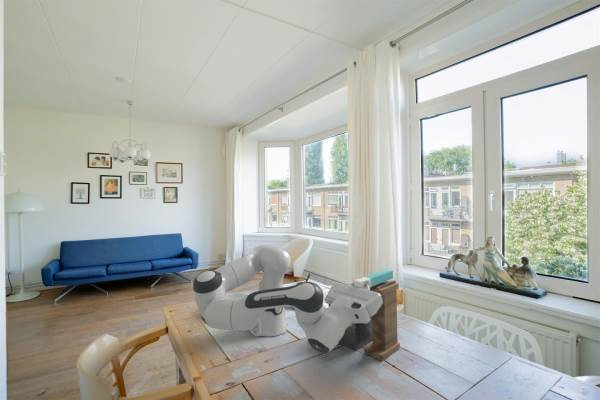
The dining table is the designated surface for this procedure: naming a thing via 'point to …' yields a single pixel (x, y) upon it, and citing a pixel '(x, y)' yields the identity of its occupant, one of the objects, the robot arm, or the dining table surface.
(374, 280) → the teal bar
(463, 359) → the dining table surface
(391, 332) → the post
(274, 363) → the dining table surface
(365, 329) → the switch box
